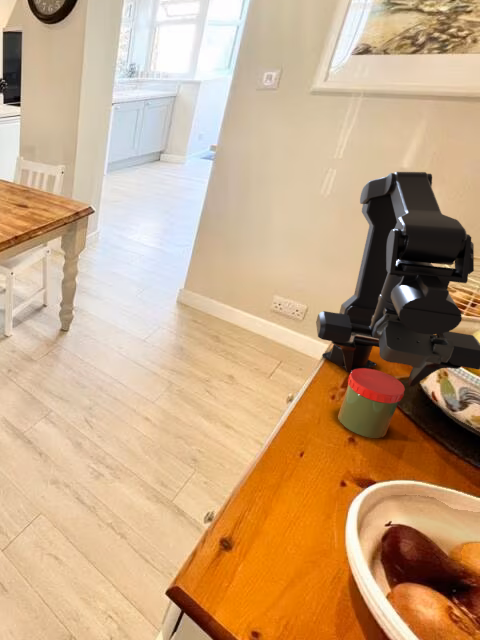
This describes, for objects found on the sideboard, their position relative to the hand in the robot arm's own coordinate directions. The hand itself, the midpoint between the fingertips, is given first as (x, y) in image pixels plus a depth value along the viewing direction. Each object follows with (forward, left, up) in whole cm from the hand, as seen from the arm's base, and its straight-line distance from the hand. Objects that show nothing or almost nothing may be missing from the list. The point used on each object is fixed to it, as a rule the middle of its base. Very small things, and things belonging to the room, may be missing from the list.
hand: (377, 377), depth 69 cm
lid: (0, 0, -1) cm, 1 cm away
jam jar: (0, 0, -11) cm, 11 cm away
